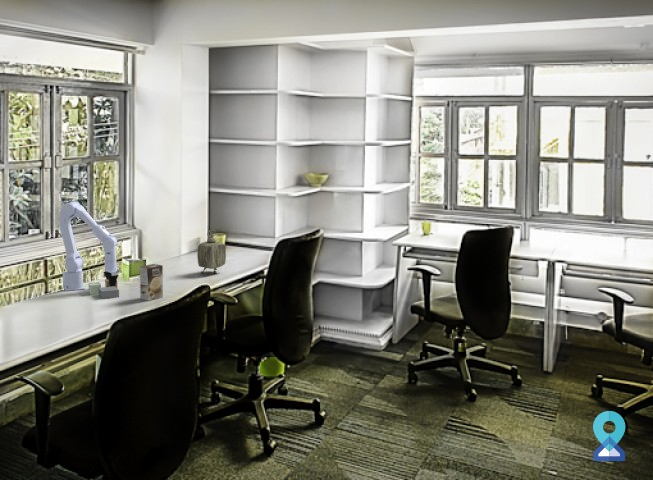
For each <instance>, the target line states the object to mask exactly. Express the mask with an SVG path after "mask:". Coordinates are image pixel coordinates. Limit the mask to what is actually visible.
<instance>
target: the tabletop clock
mask: <svg viewBox="0 0 653 480" xmlns="http://www.w3.org/2000/svg"><path fill="white" fill-rule="evenodd" d="M213 231H214V233H215V234H214V235H213V234H210V235H209V233H210V232H213ZM206 235H207V237H208V238H207V241H206V240H205V241H202V242H201V243H199V244H198V246H197V256H196V257H197V258H196V259H197V265H198V267H200V268H203V270H202V271H200V274H201V275H204V273H205V271H206V270H207V269H210V270H212V269H213V270H214V271H213V274H214V273H216V274H218V273H217V271H218V268H220V267H223V266H225V264H226V261H227V259H226V258H227V249H226V245H225V243H223V242H221V241H217V239H216V238H215V236H216V235H217V230H215V229H209V230H208V231H207V234H206ZM215 270H217V271H215Z"/></svg>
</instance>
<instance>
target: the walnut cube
mask: <svg viewBox="0 0 653 480" xmlns="http://www.w3.org/2000/svg"><path fill="white" fill-rule="evenodd" d="M104 283H105V285H104V287H110V284H109V280H108V279H106V278H105V279H104ZM115 287H116V288H117V289H119V287H118V280H117V281H116V285H115Z"/></svg>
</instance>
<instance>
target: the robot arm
mask: <svg viewBox="0 0 653 480" xmlns="http://www.w3.org/2000/svg"><path fill="white" fill-rule="evenodd" d="M73 218H80V219H81V220H82V221H83V222H84V223H86V225H87V226H88V227H90V228H91V229H92V234H93V235H94V237H96V238H97V239H98V240H99V241H100V242H101V243H102V244H101V245H102V247H103V248H104V251H103V252H104V271H103V274H104V276H105V279H108V280H109V284H110V287H112V286H115V285H116V281H117V282H118V278H119V274H117V271H119V270H120V268H119V267H118V266H117V265H118V264H117V245H118V239H117V238H116V236H115V235H112V233H110V232H108V230H107V229H106V226H104V225H102V224H98V223H97V222H96V221H95V219H93V218H92V215H90V214H89V213H88V211H87V210H86V209H85V207H84V206H83V205H81V204H80V202H79V201H77V200H72V201H70V202H67V203H64V204H63V206H61V207H60V212H59V215H58V226H59V229H60V233H61V237H62V240H63V246H64V249H65V253H66V254H65V259H64V260H65V263H64V264H65V265H64V266H65V269H66V271H64V272H62V288H63V290H64V291H65V292H69V291H78V290H85V289H86V287H85V286H84V285H83V284H84V281H83V266H84V265H85V263H84V260H83V258H82V257H81V254H80V253H79V252H78V250H77V245H76V239H75V237H74V232H73V228H72V225H71V220H72V219H73Z"/></svg>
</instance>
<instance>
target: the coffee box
mask: <svg viewBox="0 0 653 480" xmlns="http://www.w3.org/2000/svg"><path fill="white" fill-rule="evenodd" d="M163 268H164V266H163V265H161V264H157V263H153V264H148V265H141V266H139V276H140V277H139V284H140V285H139V288H140V289H139V290H140V291H139V292H140V293H139V294H140V300H144V301H148V302H149V301H150V302H151V301H153V300H158V299H161V298H164V285H163V283H164V279H163V278H164V277H163V276H164V274H163V273H164V272H163V270H164V269H163Z"/></svg>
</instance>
